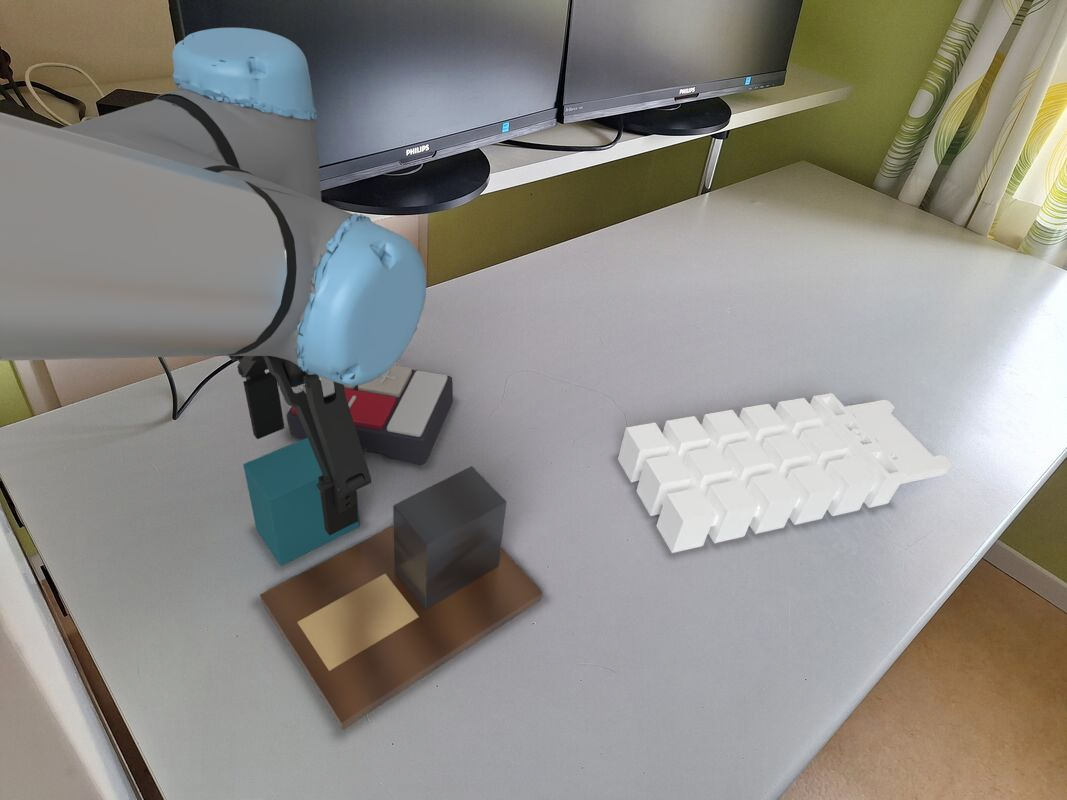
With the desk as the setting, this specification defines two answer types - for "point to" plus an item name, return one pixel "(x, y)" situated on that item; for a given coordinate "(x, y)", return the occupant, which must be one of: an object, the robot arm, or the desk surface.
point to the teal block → (289, 501)
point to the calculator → (395, 413)
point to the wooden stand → (403, 597)
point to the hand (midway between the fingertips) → (303, 476)
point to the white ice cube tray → (770, 466)
